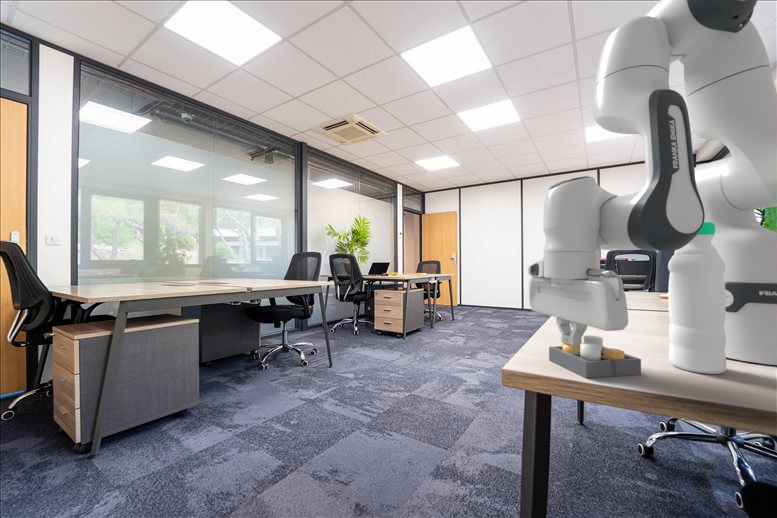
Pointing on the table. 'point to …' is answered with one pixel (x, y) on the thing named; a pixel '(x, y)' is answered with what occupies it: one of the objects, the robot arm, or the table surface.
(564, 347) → the button
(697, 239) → the water bottle
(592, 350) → the button
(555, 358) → the grey egg tray
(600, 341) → the button
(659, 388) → the table surface
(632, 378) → the table surface
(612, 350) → the button
